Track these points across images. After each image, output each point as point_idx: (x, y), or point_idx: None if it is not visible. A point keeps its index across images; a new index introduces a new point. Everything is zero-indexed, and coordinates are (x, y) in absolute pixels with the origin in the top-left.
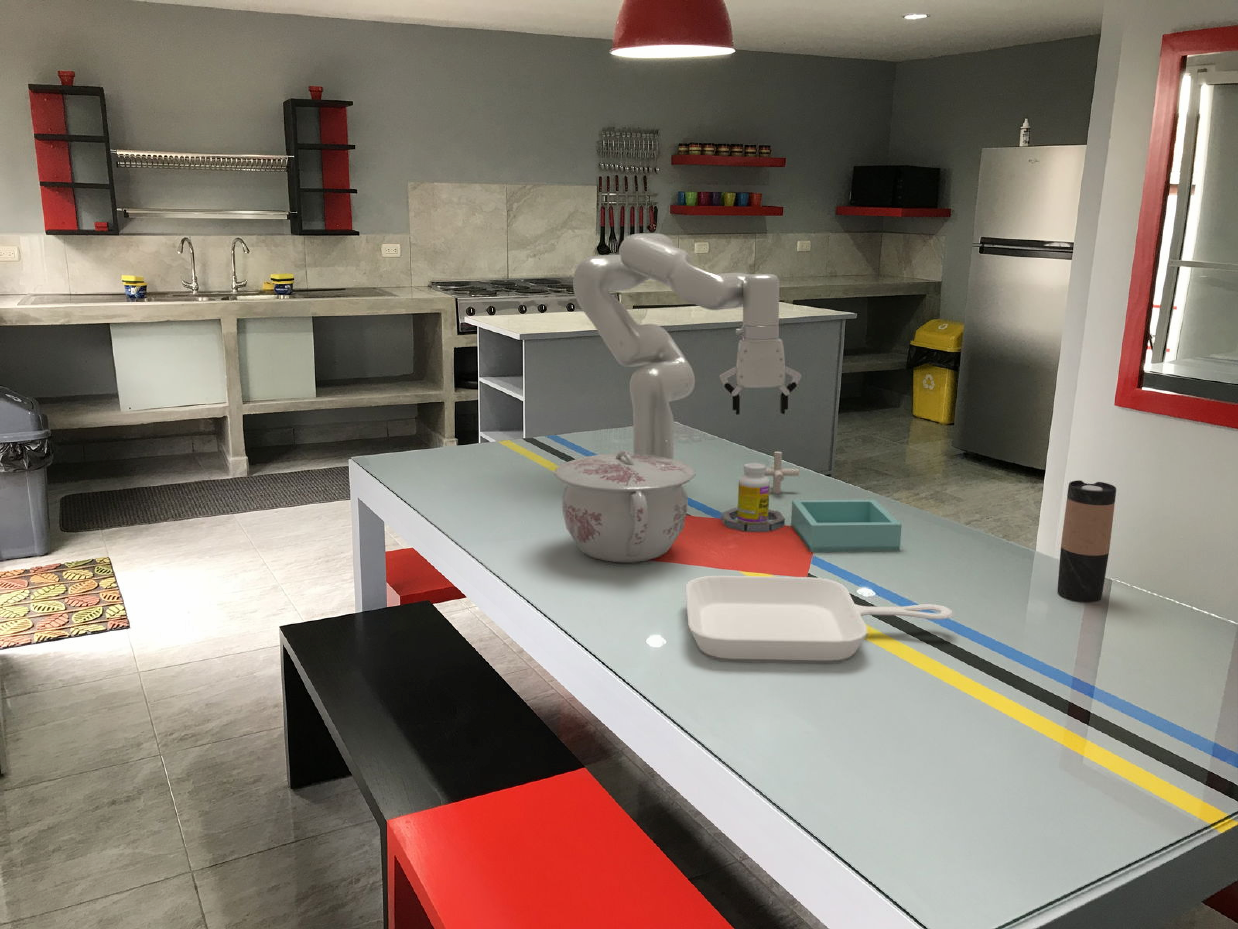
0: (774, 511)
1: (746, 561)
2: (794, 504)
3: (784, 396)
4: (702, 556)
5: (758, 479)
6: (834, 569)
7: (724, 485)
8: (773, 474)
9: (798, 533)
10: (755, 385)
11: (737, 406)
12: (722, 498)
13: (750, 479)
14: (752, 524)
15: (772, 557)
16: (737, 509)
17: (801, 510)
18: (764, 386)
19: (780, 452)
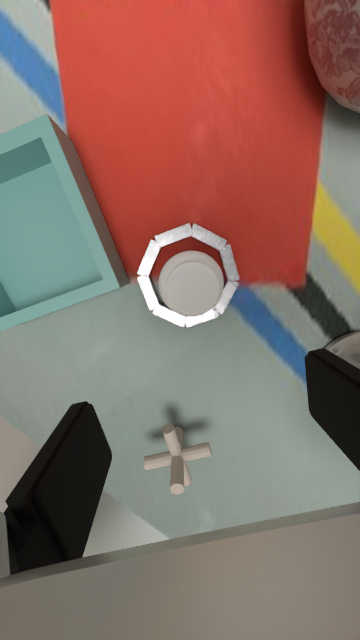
0: (159, 312)
1: (163, 45)
2: (112, 267)
3: (15, 493)
4: (241, 49)
5: (178, 262)
6: (14, 50)
7: (253, 445)
8: (182, 448)
9: (108, 230)
10: (330, 543)
11: (347, 367)
12: (248, 385)
13: (196, 258)
14: (181, 228)
15: (125, 88)
16: (217, 306)
17: (89, 222)
18: (170, 547)
19: (172, 489)
